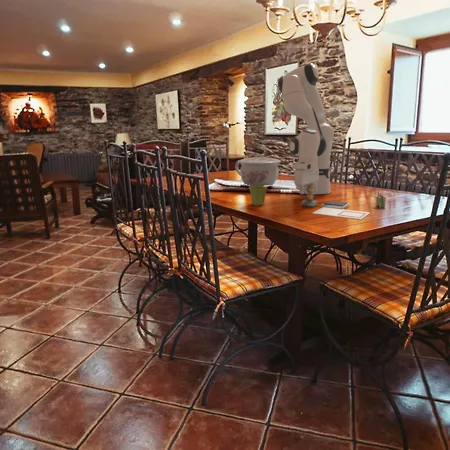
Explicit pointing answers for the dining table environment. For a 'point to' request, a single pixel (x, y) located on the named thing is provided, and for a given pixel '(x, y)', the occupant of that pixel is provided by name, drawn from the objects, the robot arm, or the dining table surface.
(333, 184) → the dining table surface
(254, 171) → the chamber pot
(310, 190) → the stamp
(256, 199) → the plant pot
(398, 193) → the dining table surface
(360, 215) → the paper sheet
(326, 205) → the ink pad
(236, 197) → the dining table surface
